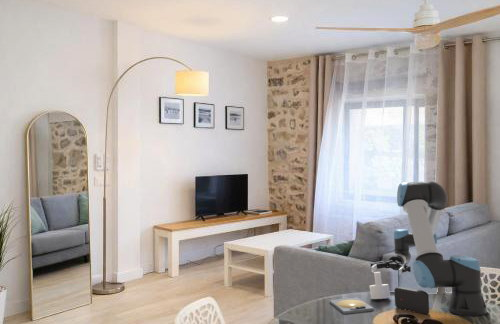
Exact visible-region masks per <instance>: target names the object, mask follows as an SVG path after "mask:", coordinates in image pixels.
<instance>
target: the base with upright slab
mask: <svg viewBox="0 0 500 324" xmlns="http://www.w3.org/2000/svg"><path fill="white" fill-rule="evenodd" d="M373 275H374V284H372V285H369V286H368V287H369V293H370V300H383V299H390V298H391V291H390V286H389V285H390V284H388V283H386V284H385V283H384V284H383V282H382V274H381V271H375V272H373Z"/></svg>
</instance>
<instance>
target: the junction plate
mask: <svg viewBox="0 0 500 324" xmlns="http://www.w3.org/2000/svg"><path fill="white" fill-rule="evenodd" d="M329 303H330V305H332V306H333V307H334V308H336V309H337V310H338V311H340V313H342V314H344V315H348V314H349V315H350V314H358V313H365V312H367V313H368V312H373V311H375V310H374V309H375V307H373V306H371V305H370V304H368V303H367V302H366V301H364V300H362V299H361V298H359V297H357V296H355V297H347V298H338V299H337V298H336V299H329Z"/></svg>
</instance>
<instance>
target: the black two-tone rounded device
mask: <svg viewBox="0 0 500 324" xmlns="http://www.w3.org/2000/svg"><path fill="white" fill-rule="evenodd" d="M393 291H394V305H395V307H396V308H397V309H399V308H401V309H400V310H404V309H406V310H405V311H408V310H410V311H409V312H412V311H414V312H413V313H417V312H419V313H418V314H421V313H424V314H423V315H429V314H430V301H429V298H430V297H429V293H428V292H427V291H425V290H422V289H418V288H413V287H404V286H403V287H402V286H397V287H395V288H394V290H393Z"/></svg>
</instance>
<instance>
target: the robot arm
mask: <svg viewBox="0 0 500 324" xmlns="http://www.w3.org/2000/svg"><path fill="white" fill-rule="evenodd" d="M448 200H449V199H448V194H447V191H446V189H445V188H444V187H443V186H442V185H441V184H439V183H438V182H435V181H431V180H426V181H412V182H409V181H406V182H401V183H399V185H398V186H397V192H396V201H397V206H398V207H401V208H402V210H403V212H405V213H406V214H407V217H408V221H409V224H410V225H409V226H410V228H411V232H409V229H407V228H397V229H395V230H394V231H393V242H394V254H393V255H392V256H391V257H390V258H389V259H388V260H387V261H386V260H385V261H384V260H381V261H376V262H373V263H370V271H371V273H373V274H374V272H377V270H378V269H391V270H393V271H398V276H401V275H403V273H406V272H409V273H411V266H410V265H409V263H410V261H411V259H412V255H411V252H410V247H415V250H416V253H417V256H416V257H415V259H414V260H415V261H413V263H412V271H413V276H414V278H415V280H416V282H417V284H418V286H420V287H421V288H423V289H426V288H427V289H437V288H441V289H442V288H451V294H450V298H449V301H448V305H447V306H448V308H447V309H448V311H449V312H451V313H453V314H456V315H460V316H468V317H477V316H478V317H479V316H483V315H486V314H487V313H488V310H487V304H486V301H485V300H484V297H483V295H482V283H481V282H482V281H481V280H482V278H481V277H482V276H481V272H482V270H481V266H480V261H479V260H478V259H477V258H474V257H471V256H465V255H459V254H457V255H456V254H455V255H450V257H449V259H444V256H443V254H442V253H441V252H438V249H437V243H438V237H437V234H436V229H437V227H438V225H439V221H440V218H441V215H442V212H443V210H444V209H446V207H447V204H448Z"/></svg>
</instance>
